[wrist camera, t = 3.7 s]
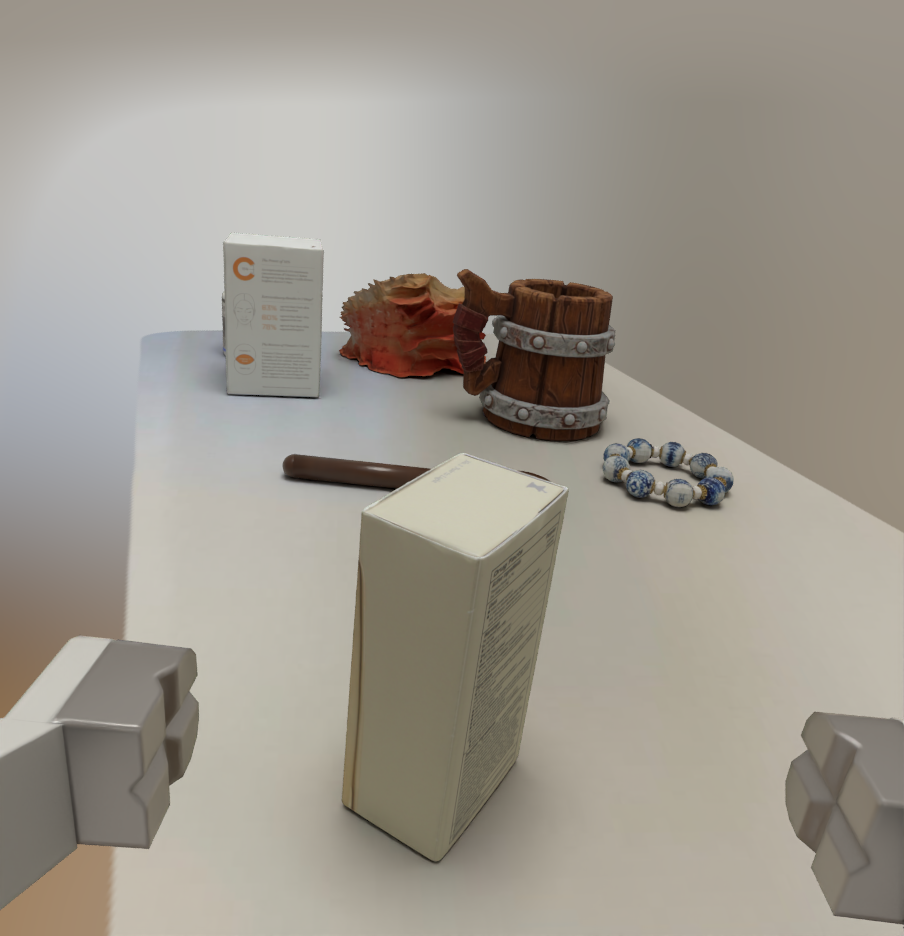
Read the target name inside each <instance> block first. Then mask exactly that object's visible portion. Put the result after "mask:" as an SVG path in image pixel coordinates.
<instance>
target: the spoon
mask: <svg viewBox="0 0 904 936" xmlns="http://www.w3.org/2000/svg"><path fill="white" fill-rule="evenodd" d="M283 470H284V472H285V473H286V475H288V476H290V477H293V478H302V479H311V480H321V481H330V482H340V483H349V484H358V485H368V486H377V487H387V488H396V489H398V488H400V487H401V486H403V485H405V484H406V483H408V482H410V481H412V480H413V479H415V478H417V477H418V476H420V475H422V474H424V473H425V472H427V471H429V470H431V469H428V468H419V467H410V466H400V465H391V464H382V463H372V462H363V461H354V460H344V459H335V458H325V457H316V456H307V455H297V454H293V455H289V456H288V457H286V458H285V460H284V462H283ZM520 472H522V473H525V474H528V475H531V476H534V477H537V478H540V479H543V480H546V481H549V480H548V479H546V478H544V477H542V476H539V475H536V474H533V473H529V472H524V471H520ZM549 482H551V481H549Z"/></svg>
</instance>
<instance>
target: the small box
mask: <svg viewBox="0 0 904 936" xmlns="http://www.w3.org/2000/svg"><path fill="white" fill-rule="evenodd" d="M223 251H224V289H225V341H226V381H227V393H228V394H243V395H274V396H302V397H319V386H320V361H321V329H322V290H323V288H322V287H323V254H324V251H323V248H322V244H321V240H320V239H307V238H295V237H281V236H268V235H255V234H241V233H230V235H229V236H228V237H227V239H226V240H225V241H224V242H223Z"/></svg>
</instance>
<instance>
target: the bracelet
mask: <svg viewBox="0 0 904 936" xmlns="http://www.w3.org/2000/svg"><path fill="white" fill-rule="evenodd" d="M651 456H652V457H653V458H657V457H658V456H659V458H660V460H661V462H662V463H663V464H664V465H666V466H669V467H675V466H678V465H680V464H682V463H684V464H685V465H690V469H691V472H692V473H693V474H694V475H695V476H697V477H699V478H705V479H703V480H701V481H700V482H699V483H698V485H697V486H691V485H690V484H689V483H688V482H687V481H685V480H682V479H674V480H672V481H670V482H669V483H668V484H667V483H666V486H665V485H664V484H663V483H662V482H658V483H656V484H655V480H654V477H653V476H652V475H651V474H650V473H649V472H647V471H644V470H637V471H631V470H630V466H629V463H628V461H629V459H630V460H631V461H632V462H635V463H643V462H646V461H647V460H648V459H649V458H651ZM604 461H605V462H604V465H603V473H604V475H605V477H606V478H607V479H608V480H610V481H612V482H621V481H624V482H626V487H627V491H628V492H629V493H630V494H632V495H633V496H635V497H639V498H642V497H647V496H648V495H649V494H651V493H652V492H653V490H654V493H655V494H656V495H662V494H663V493H664V498H665V499H666V501H667V502H668V503H669V504H670V505H672V506H675V507H683V506H686V505H688V504H689V503H690V502H691V500H692V498H693V499H698V500H700V501H701V502H702V503H704V504H706V505H716V504H718V503H719V502H721V501H722V500H723V498H724V496H725V493H726V492H728V491H729V490H730V489H731V487H732V485H733V480H734V477H733V475H732V473H731V472H730V471H729V470H728V469H726V468H724V467H717V461H716V459H715V458H714V457H713V456H712V455H710V454H707V453H700V454H697V455H695V456H694V457H693V455H692V454H686V451H685V450H684V448H683V447H682V446H681V445H680V444H678V443H676V442H669V443H666V444H665V445H663V446H661V449H659V447H657V446H653V447H652V445H651V444H649V442H647V441H646V440H644V439H640V438H637V439H633V440H631V441H630V442H629V443H628V445H627V447H626V446H624V445H622V444H618V443H615V444H612V445H609V446H608V447H607V448H606V450H605V452H604Z"/></svg>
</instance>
